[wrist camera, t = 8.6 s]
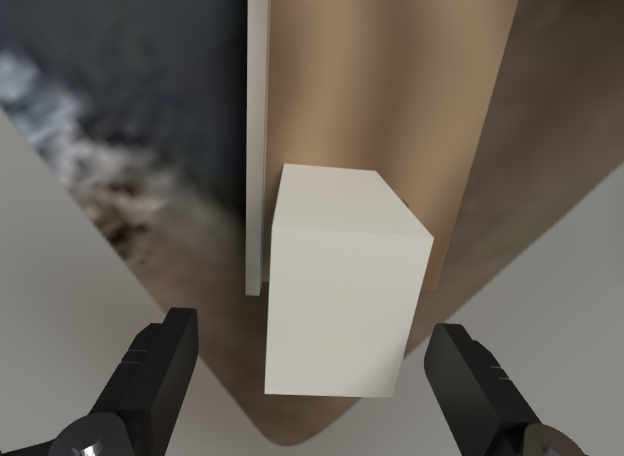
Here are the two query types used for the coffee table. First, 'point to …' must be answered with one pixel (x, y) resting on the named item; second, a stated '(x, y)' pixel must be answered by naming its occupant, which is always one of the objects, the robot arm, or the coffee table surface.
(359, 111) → the wooden board with ledge
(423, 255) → the carton
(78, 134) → the coffee table surface
